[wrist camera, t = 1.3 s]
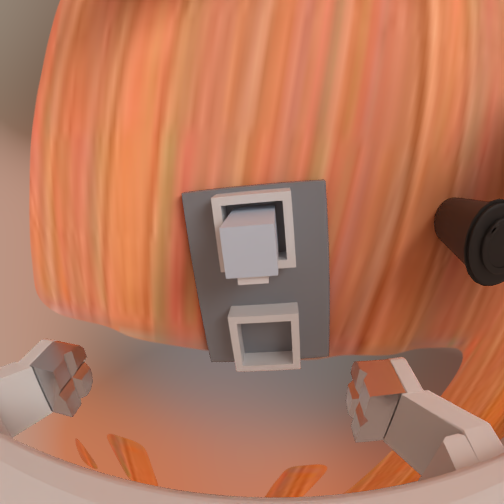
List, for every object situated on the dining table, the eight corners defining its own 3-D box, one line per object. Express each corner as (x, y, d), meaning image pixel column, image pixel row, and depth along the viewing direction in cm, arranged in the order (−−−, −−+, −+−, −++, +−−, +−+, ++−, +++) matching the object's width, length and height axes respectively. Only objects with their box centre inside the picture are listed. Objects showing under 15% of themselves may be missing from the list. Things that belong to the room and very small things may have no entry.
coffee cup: (433, 176, 29) (486, 189, 20) (486, 196, 29) (541, 215, 20) (414, 248, 32) (458, 284, 22) (468, 261, 32) (515, 296, 22)
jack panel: (323, 179, 30) (329, 183, 27) (327, 351, 36) (331, 369, 33) (184, 192, 32) (173, 197, 29) (212, 357, 38) (207, 374, 35)
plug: (274, 204, 31) (273, 223, 23) (278, 252, 32) (279, 285, 24) (233, 208, 31) (219, 227, 23) (239, 255, 32) (227, 288, 25)
